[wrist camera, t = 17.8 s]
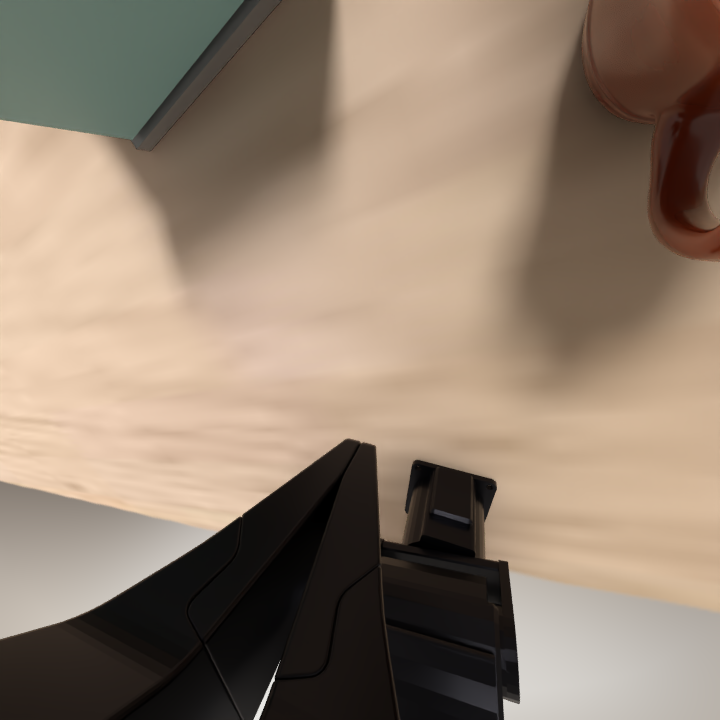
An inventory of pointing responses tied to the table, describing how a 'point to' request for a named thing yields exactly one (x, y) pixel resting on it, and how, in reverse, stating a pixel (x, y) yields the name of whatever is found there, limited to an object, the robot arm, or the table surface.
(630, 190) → the table surface
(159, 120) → the grey storage bin
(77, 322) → the table surface
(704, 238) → the mug
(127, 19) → the white drawer
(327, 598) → the robot arm
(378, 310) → the table surface
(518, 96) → the table surface
